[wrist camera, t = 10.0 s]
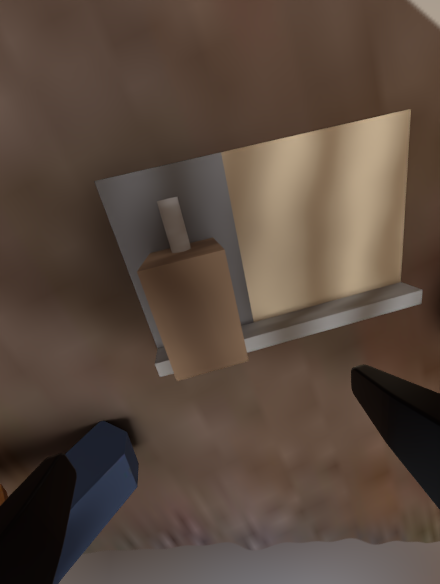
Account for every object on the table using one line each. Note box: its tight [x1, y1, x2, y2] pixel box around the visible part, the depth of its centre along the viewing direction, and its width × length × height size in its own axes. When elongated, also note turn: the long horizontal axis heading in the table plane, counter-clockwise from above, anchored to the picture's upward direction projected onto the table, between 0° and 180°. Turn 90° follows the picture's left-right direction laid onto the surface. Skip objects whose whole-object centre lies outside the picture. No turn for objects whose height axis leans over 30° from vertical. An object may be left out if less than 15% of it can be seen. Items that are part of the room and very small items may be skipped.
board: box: [94, 109, 423, 377], centre depth 17 cm, size 21×14×4 cm, turn 102°
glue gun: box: [0, 421, 139, 584], centre depth 18 cm, size 6×31×15 cm
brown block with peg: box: [137, 197, 249, 381], centre depth 15 cm, size 4×10×5 cm, turn 12°
